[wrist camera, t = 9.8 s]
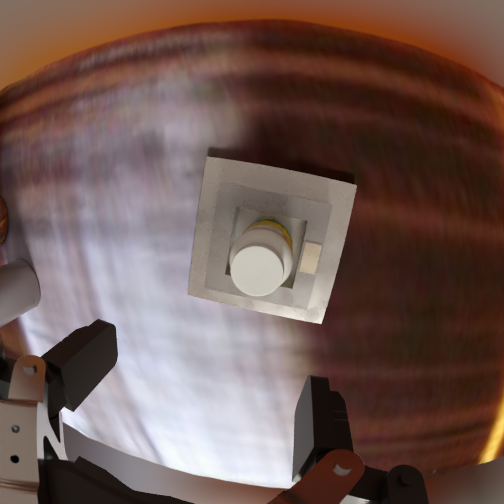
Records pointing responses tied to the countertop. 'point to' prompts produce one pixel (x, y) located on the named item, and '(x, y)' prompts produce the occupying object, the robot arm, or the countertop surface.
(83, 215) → the countertop surface
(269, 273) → the supplement bottle
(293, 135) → the countertop surface
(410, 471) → the robot arm
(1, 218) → the pretzel
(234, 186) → the white square holder
